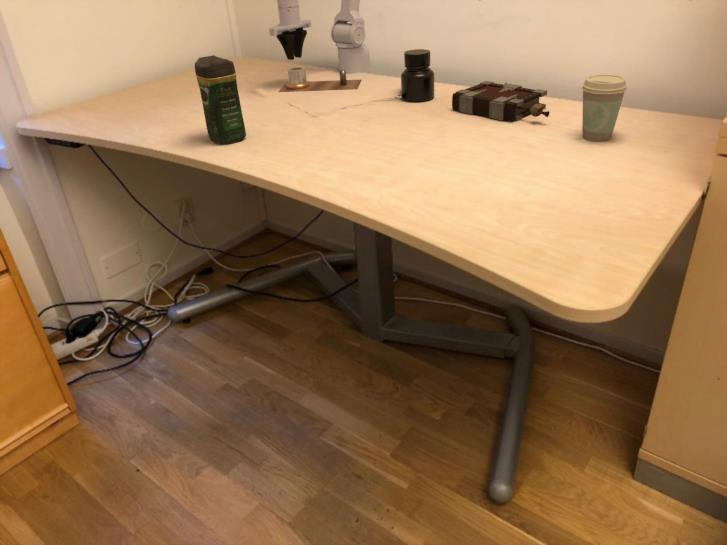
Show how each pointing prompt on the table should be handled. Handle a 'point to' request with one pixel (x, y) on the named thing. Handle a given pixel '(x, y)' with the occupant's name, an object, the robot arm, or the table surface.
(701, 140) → the table surface
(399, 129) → the table surface
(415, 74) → the ink bottle
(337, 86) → the walnut board
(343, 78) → the stand rod
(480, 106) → the book
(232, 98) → the coffee jar
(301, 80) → the steel collar
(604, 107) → the coffee cup
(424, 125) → the table surface
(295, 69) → the hub
